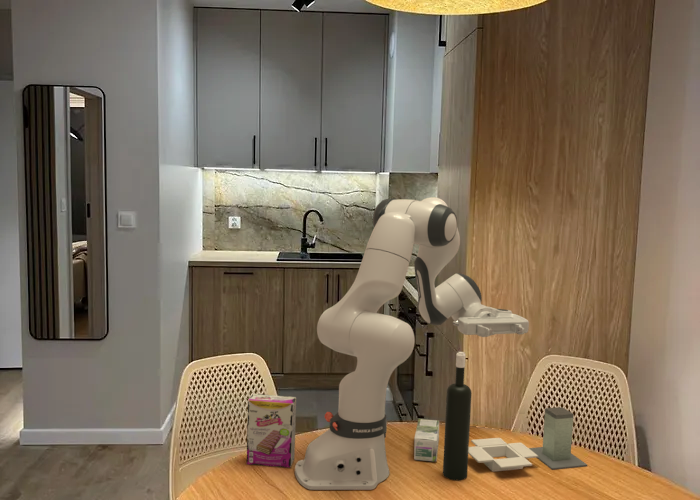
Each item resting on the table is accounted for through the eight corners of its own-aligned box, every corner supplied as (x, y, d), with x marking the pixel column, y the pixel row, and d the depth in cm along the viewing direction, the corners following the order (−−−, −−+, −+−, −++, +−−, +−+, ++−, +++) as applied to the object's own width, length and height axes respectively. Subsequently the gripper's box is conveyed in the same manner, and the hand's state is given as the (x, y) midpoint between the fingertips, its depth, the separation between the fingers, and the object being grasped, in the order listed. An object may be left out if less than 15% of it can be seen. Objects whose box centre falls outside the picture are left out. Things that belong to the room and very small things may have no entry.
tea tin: (552, 461, 163) (556, 415, 161) (542, 453, 168) (545, 408, 166) (570, 459, 164) (573, 414, 163) (559, 451, 169) (562, 407, 168)
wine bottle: (438, 471, 156) (444, 350, 153) (459, 468, 158) (465, 348, 155) (450, 482, 151) (456, 356, 147) (471, 478, 152) (478, 354, 149)
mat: (552, 469, 159) (552, 468, 159) (526, 449, 170) (526, 448, 170) (587, 466, 161) (587, 464, 161) (560, 446, 173) (560, 445, 173)
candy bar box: (245, 465, 156) (246, 399, 154) (251, 456, 161) (252, 393, 159) (291, 469, 155) (292, 402, 153) (295, 460, 160) (296, 395, 158)
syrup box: (417, 438, 176) (413, 461, 161) (418, 417, 175) (414, 438, 161) (439, 440, 175) (436, 463, 160) (439, 419, 174) (437, 440, 160)
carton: (485, 480, 152) (485, 468, 151) (456, 452, 167) (457, 441, 167) (546, 474, 156) (547, 462, 156) (512, 447, 172) (513, 436, 171)
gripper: (450, 311, 185) (471, 321, 172) (514, 309, 191) (539, 319, 177) (449, 332, 186) (470, 344, 173) (513, 330, 191) (538, 342, 178)
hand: (506, 331), depth 175 cm, fingers open, 8 cm apart
